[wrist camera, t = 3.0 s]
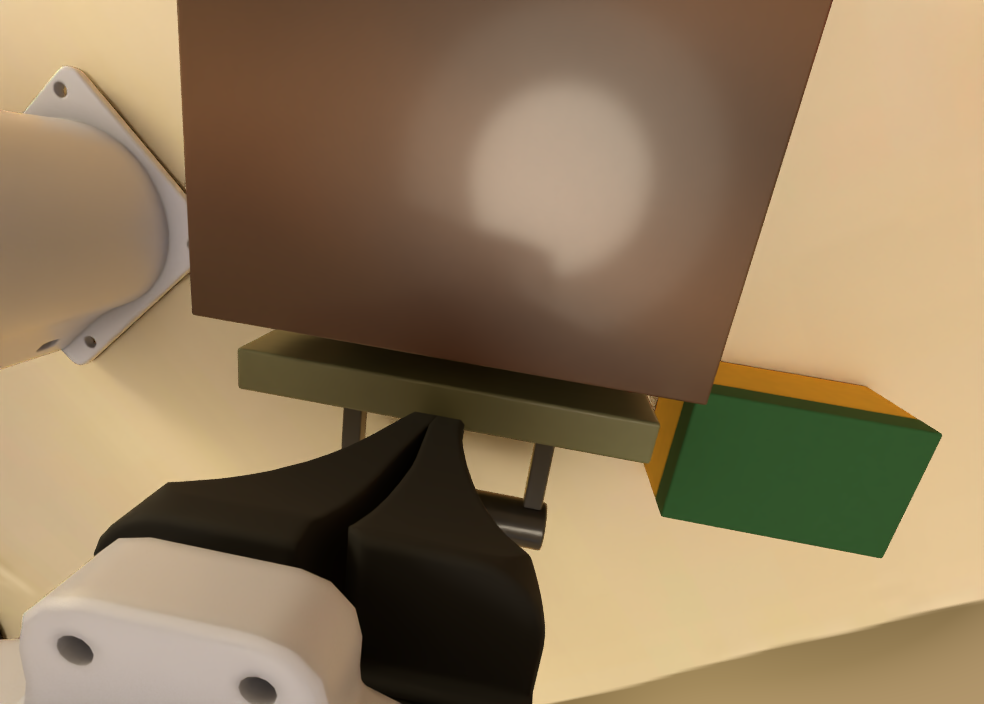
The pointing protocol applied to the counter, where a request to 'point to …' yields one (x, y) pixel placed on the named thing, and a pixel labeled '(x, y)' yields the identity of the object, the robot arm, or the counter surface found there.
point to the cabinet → (491, 174)
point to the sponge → (790, 459)
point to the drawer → (457, 407)
